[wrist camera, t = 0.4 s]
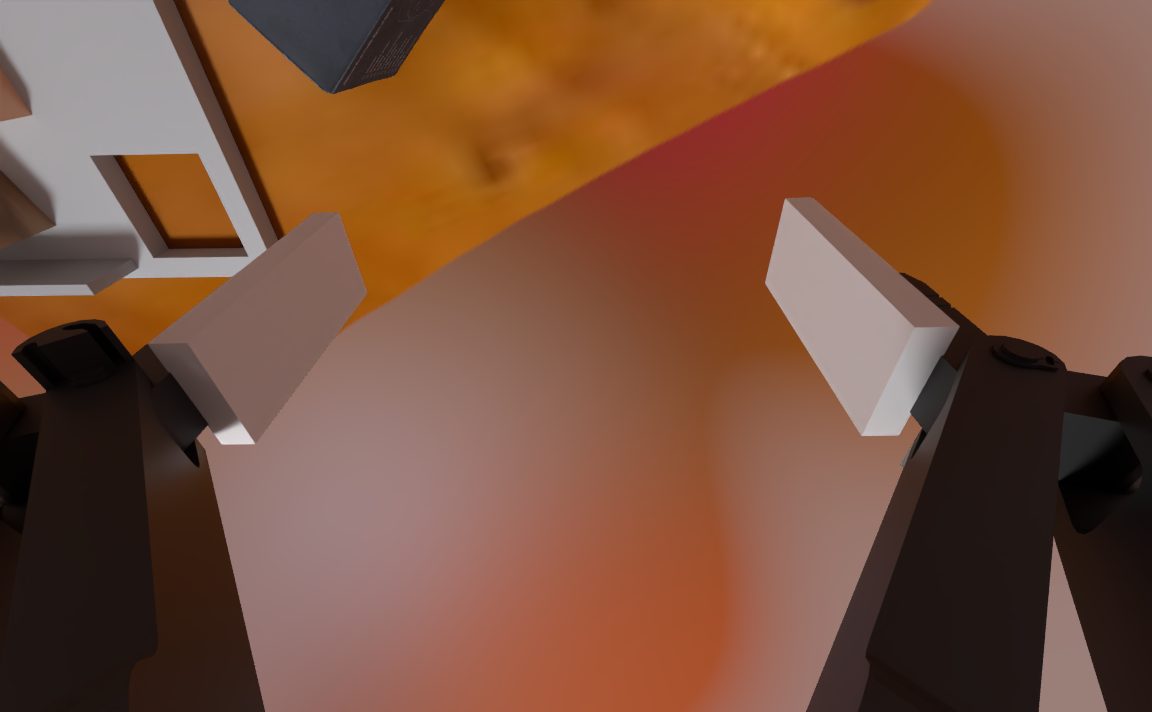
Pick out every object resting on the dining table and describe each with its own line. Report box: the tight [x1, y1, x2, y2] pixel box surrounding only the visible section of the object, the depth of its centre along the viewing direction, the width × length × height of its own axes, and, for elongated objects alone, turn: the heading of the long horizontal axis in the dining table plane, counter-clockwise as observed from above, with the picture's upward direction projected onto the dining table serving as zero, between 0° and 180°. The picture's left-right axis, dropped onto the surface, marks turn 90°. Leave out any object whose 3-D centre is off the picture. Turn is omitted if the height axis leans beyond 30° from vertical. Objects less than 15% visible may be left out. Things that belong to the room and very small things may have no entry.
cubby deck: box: [0, 0, 278, 296], centre depth 35 cm, size 26×28×7 cm
